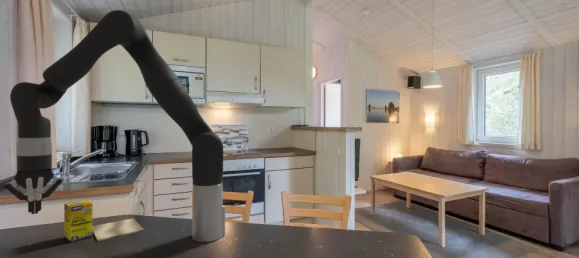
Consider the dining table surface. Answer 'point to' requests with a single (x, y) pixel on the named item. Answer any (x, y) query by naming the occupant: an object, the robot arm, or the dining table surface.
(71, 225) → the supplement box
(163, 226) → the dining table surface
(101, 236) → the birch board
